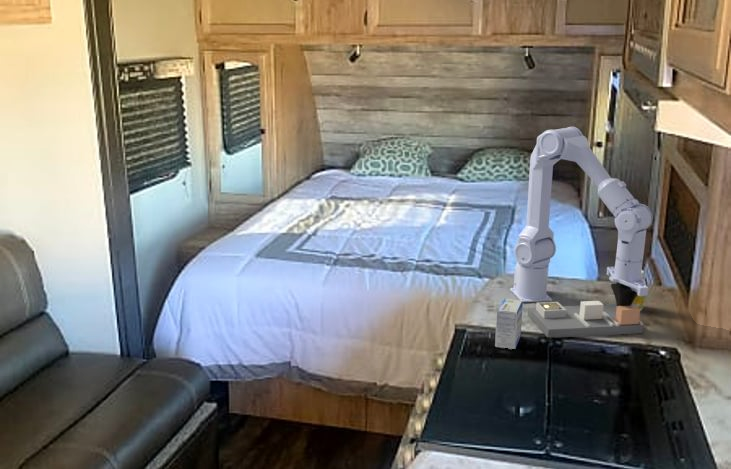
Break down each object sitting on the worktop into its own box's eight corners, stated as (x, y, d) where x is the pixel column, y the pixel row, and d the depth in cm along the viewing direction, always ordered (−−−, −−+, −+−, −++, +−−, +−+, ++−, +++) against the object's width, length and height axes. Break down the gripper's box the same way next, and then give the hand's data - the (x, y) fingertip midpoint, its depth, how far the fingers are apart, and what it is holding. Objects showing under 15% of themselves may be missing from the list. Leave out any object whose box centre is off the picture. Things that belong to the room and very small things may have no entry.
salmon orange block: (615, 320, 169) (616, 306, 168) (633, 319, 170) (635, 305, 169) (620, 324, 167) (621, 310, 166) (638, 323, 168) (640, 309, 167)
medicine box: (515, 350, 158) (517, 313, 156) (494, 347, 160) (496, 310, 157) (520, 336, 166) (523, 300, 163) (500, 333, 167) (503, 297, 165)
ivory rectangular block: (579, 315, 172) (580, 301, 171) (597, 314, 173) (598, 300, 172) (583, 319, 170) (585, 305, 169) (602, 318, 170) (603, 304, 169)
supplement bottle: (644, 312, 180) (648, 275, 177) (621, 310, 181) (625, 273, 178) (640, 304, 185) (645, 267, 182) (618, 303, 186) (622, 266, 183)
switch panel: (527, 315, 177) (528, 300, 176) (615, 311, 180) (617, 296, 179) (547, 337, 165) (549, 322, 164) (642, 333, 168) (644, 317, 167)
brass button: (540, 308, 175) (541, 302, 174) (555, 308, 175) (555, 302, 175) (546, 314, 171) (546, 308, 171) (561, 313, 172) (561, 307, 171)
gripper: (597, 249, 173) (591, 304, 176) (630, 269, 159) (623, 328, 163) (624, 248, 174) (618, 302, 178) (659, 267, 160) (652, 326, 164)
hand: (622, 314), depth 170 cm, fingers closed
